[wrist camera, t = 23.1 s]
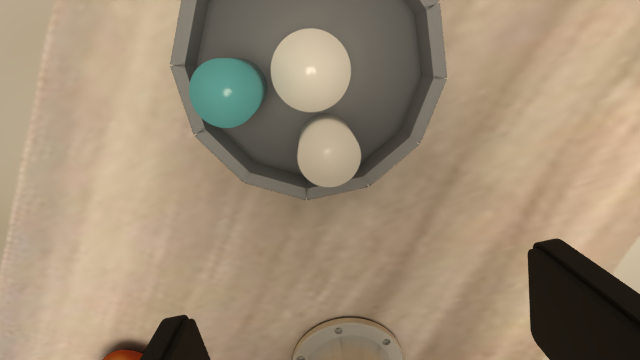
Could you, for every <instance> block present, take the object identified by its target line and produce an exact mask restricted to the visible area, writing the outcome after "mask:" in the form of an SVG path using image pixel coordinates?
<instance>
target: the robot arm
mask: <svg viewBox="0 0 640 360" xmlns="http://www.w3.org/2000/svg"><path fill="white" fill-rule="evenodd" d="M528 274H529V300H530V325H531V333H532V336H533V338H534V340H535V342H536V343H537V345H538V346H539V347H540V348H541V350H542V351H543V352H544V353H545V355H546V356H547V357H548V358H549V359H550V360H640V294H639V293H637V292H636V291H634V290H633V289H632V288H630V287H629V286H627V285H626V284H624V283H623V282H621V281H620V280H619V279H617V278H616V277H614V276H613V275H611V274H610V273H609V272H607V271H606V270H604V269H603V268H601V267H600V266H598V265H597V264H596V263H594V262H593V261H591V260H590V259H588V258H587V257H585V256H584V255H583V254H581V253H580V252H578V251H577V250H575V249H574V248H572V247H571V246H570V245H568V244H567V243H565V242H564V241H562V240H560V239H551V240H546V241H542V242H537V243H535V244H534V245H533V249H530V250H529V251H528ZM140 360H210V357H209V355H208V352H207V350H206V347H205V345H204V342H203V340H202V337H201V335H200V332H199V330H198V327H197V325H196V322H195V320H194V319H189V318H188V317H187V316H186V315H180V316H175V317H170V318H165V319H163V320H162V322H161V323H160V325H159V327H158V328H157V330H156V332H155V334H154V335H153V337H152V339H151V341H150V342H149V344H148V346H147V348H146V349H145V351H144V353H143V355H142V356H141V358H140ZM292 360H404V358H403V354H402V351H401V348H400V346H399V343H398V341H397V340H396V338H395V337H394V336H393V334H392V333H391V332H389V331H388V330H387V329H386V328H385V327H383V326H381V325H379V324H377V323H375V322H372V321H369V320H366V319H360V318H341V319H335V320H331V321H328V322H325V323H322V324H320V325H319V326H317V327H315V328H313V329H312V330H310V331H309V332H308V333H307V334H305V336H304V337H303V338H302V339H301V340H300V341H299V343H298V345H297V346H296V348H295V350H294V354H293V357H292Z"/></svg>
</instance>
